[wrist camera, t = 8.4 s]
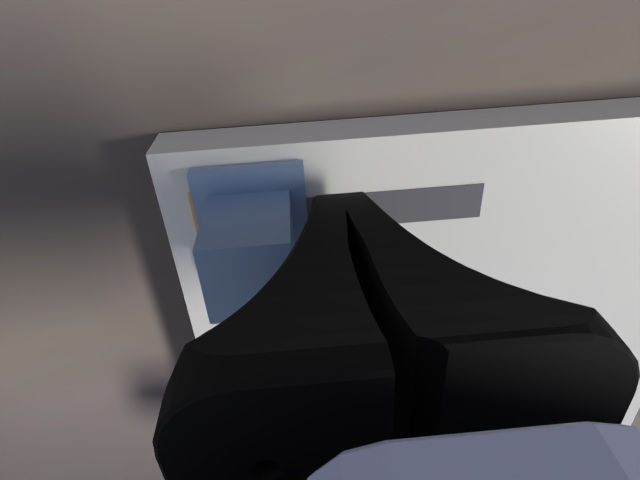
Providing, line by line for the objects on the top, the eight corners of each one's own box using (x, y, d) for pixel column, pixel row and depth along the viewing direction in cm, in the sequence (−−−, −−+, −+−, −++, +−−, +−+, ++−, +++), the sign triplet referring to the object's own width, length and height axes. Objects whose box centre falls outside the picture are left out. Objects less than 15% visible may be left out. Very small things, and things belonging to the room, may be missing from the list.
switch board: (595, 425, 21) (616, 458, 20) (240, 459, 21) (237, 494, 20) (738, 89, 13) (788, 106, 12) (158, 133, 13) (144, 155, 11)
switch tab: (311, 264, 13) (317, 334, 11) (212, 272, 13) (197, 344, 11) (303, 159, 12) (307, 216, 9) (189, 168, 12) (165, 227, 9)
